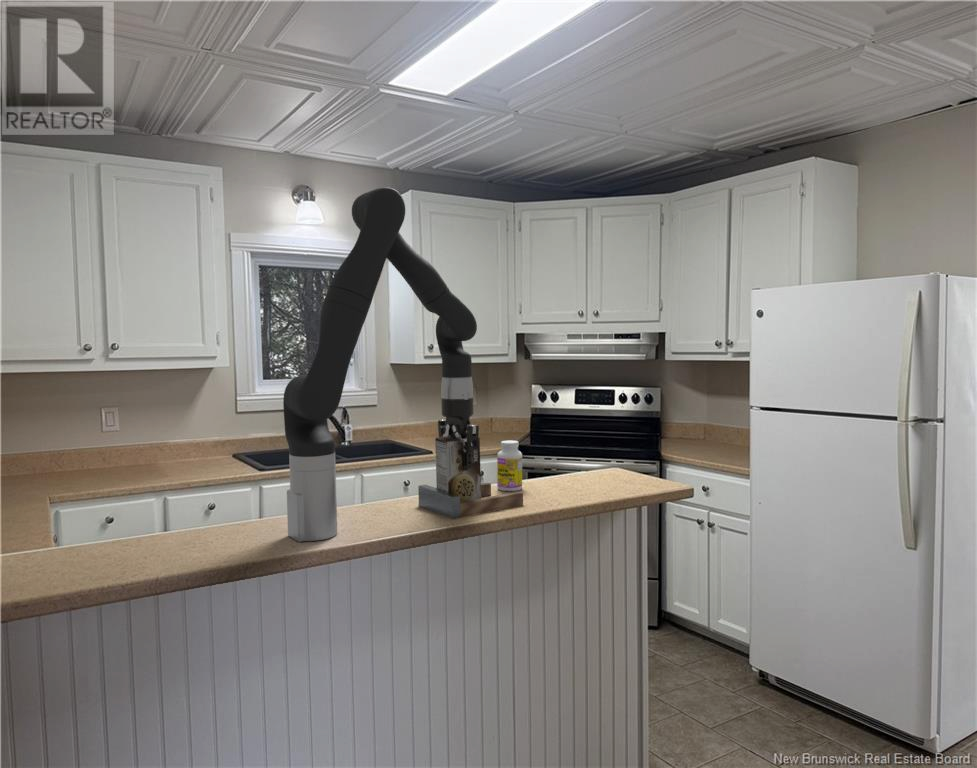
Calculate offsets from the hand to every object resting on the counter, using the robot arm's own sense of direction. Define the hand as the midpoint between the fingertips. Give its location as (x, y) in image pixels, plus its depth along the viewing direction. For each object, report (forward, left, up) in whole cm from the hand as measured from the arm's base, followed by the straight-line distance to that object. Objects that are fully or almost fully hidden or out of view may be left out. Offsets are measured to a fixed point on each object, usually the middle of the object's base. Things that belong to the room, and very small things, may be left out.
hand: (458, 465), depth 163 cm
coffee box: (0, 0, -10) cm, 10 cm away
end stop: (-6, 0, -10) cm, 12 cm away
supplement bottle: (+22, +8, -10) cm, 25 cm away
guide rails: (+5, 0, -10) cm, 11 cm away
